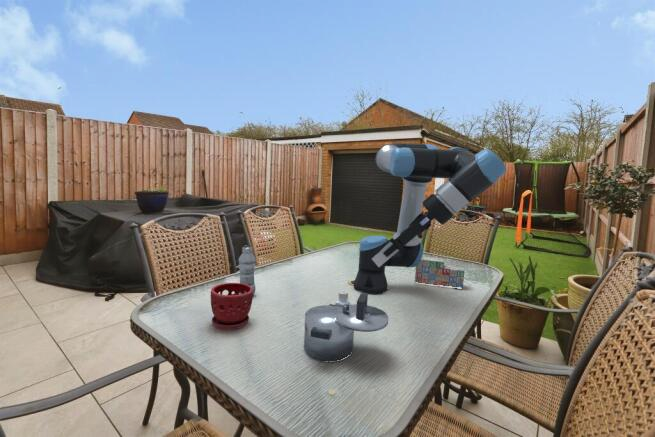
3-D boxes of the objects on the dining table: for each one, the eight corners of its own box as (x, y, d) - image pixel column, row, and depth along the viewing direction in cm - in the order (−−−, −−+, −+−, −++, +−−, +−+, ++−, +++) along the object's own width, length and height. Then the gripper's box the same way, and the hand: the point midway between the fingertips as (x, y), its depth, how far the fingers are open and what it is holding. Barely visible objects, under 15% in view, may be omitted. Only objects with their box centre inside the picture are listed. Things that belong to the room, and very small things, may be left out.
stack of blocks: (461, 286, 152) (464, 261, 151) (462, 290, 146) (465, 264, 145) (415, 280, 159) (417, 255, 158) (414, 283, 153) (416, 258, 152)
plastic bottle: (251, 299, 126) (251, 249, 124) (235, 297, 127) (235, 247, 125) (258, 293, 132) (258, 245, 130) (242, 291, 134) (243, 244, 131)
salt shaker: (341, 315, 115) (342, 289, 114) (350, 318, 113) (351, 292, 111) (334, 318, 112) (335, 292, 111) (343, 322, 110) (344, 295, 108)
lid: (390, 312, 94) (391, 292, 93) (385, 335, 80) (387, 312, 79) (341, 305, 98) (342, 285, 97) (328, 326, 84) (329, 303, 83)
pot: (358, 337, 100) (360, 306, 98) (345, 371, 82) (346, 334, 80) (315, 329, 103) (316, 299, 102) (293, 361, 85) (294, 325, 84)
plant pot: (230, 337, 97) (230, 298, 95) (202, 325, 104) (201, 289, 102) (260, 321, 108) (261, 287, 106) (233, 311, 115) (233, 278, 113)
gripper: (457, 218, 67) (381, 280, 73) (453, 211, 90) (396, 259, 96) (431, 192, 68) (359, 255, 74) (434, 192, 91) (379, 240, 98)
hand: (380, 257), depth 85 cm, fingers open, 13 cm apart
